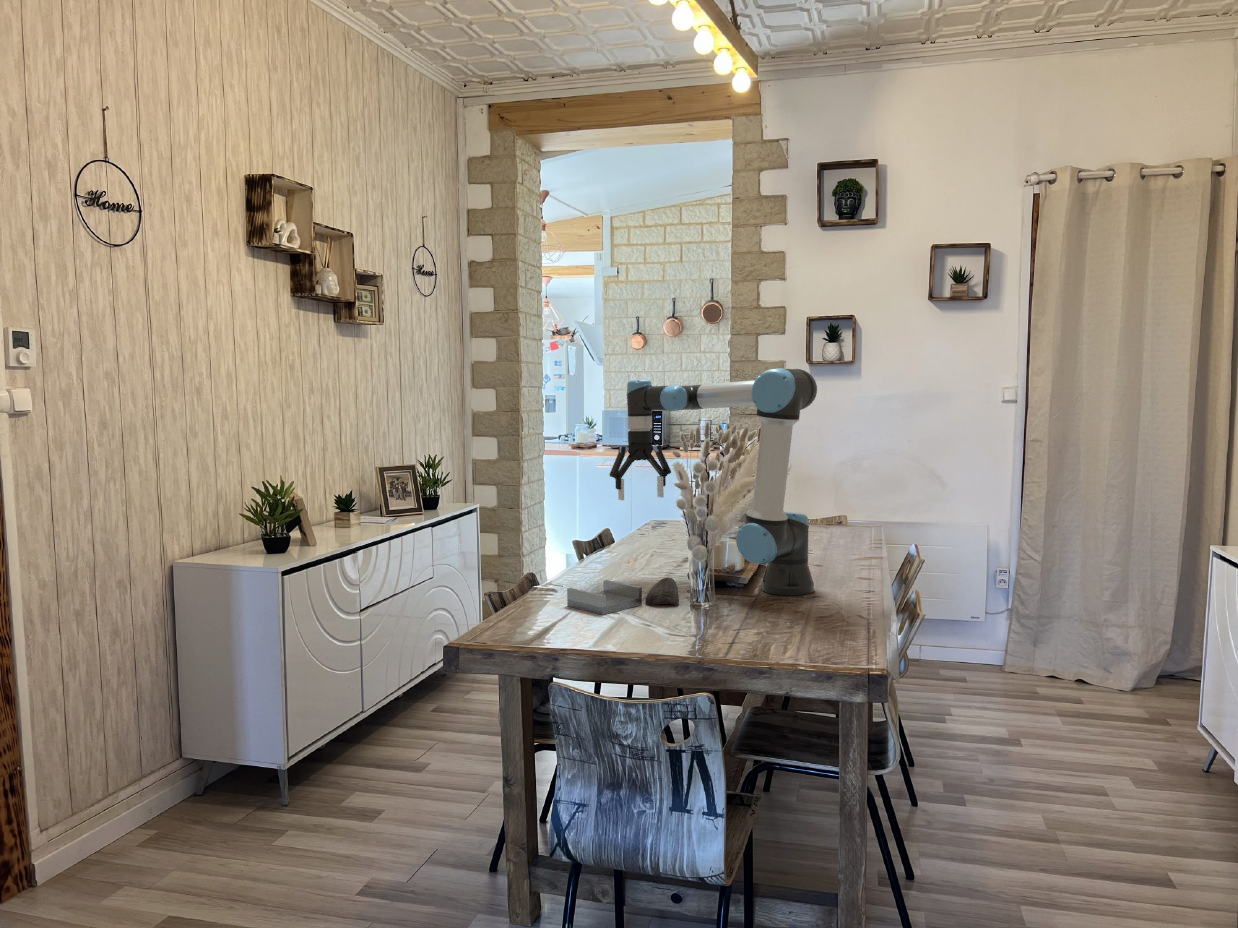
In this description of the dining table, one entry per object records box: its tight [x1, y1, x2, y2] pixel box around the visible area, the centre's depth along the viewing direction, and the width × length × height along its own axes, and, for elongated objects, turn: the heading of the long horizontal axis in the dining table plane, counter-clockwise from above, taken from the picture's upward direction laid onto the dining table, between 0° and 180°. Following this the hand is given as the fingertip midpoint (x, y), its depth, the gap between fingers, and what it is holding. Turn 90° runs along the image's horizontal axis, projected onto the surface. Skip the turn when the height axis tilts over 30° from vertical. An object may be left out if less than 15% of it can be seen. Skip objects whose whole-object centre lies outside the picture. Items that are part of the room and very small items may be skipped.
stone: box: [644, 576, 680, 607], centre depth 250 cm, size 10×8×10 cm
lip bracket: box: [566, 579, 643, 616], centre depth 248 cm, size 14×15×5 cm
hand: (641, 498), depth 279 cm, fingers open, 13 cm apart
